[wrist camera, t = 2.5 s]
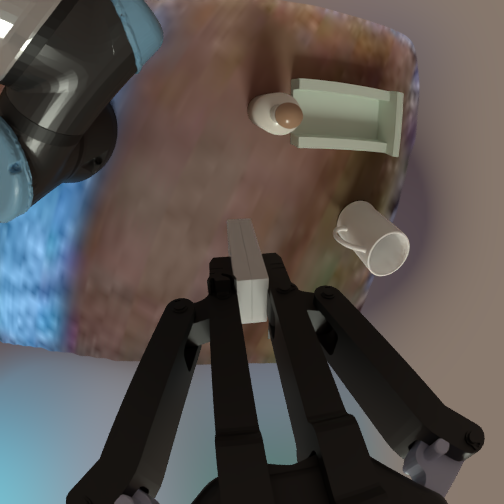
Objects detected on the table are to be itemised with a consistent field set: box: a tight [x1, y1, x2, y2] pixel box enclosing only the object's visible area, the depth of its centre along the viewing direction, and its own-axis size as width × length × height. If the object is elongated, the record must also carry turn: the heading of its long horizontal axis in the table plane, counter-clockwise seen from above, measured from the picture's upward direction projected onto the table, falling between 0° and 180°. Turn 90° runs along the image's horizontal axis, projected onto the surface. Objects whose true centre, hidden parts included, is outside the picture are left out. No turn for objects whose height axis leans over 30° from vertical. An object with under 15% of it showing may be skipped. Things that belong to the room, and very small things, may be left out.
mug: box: [333, 201, 409, 276], centre depth 44 cm, size 12×8×12 cm
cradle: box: [290, 78, 403, 157], centre depth 36 cm, size 16×10×6 cm, turn 90°
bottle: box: [247, 93, 303, 135], centre depth 31 cm, size 5×5×14 cm
